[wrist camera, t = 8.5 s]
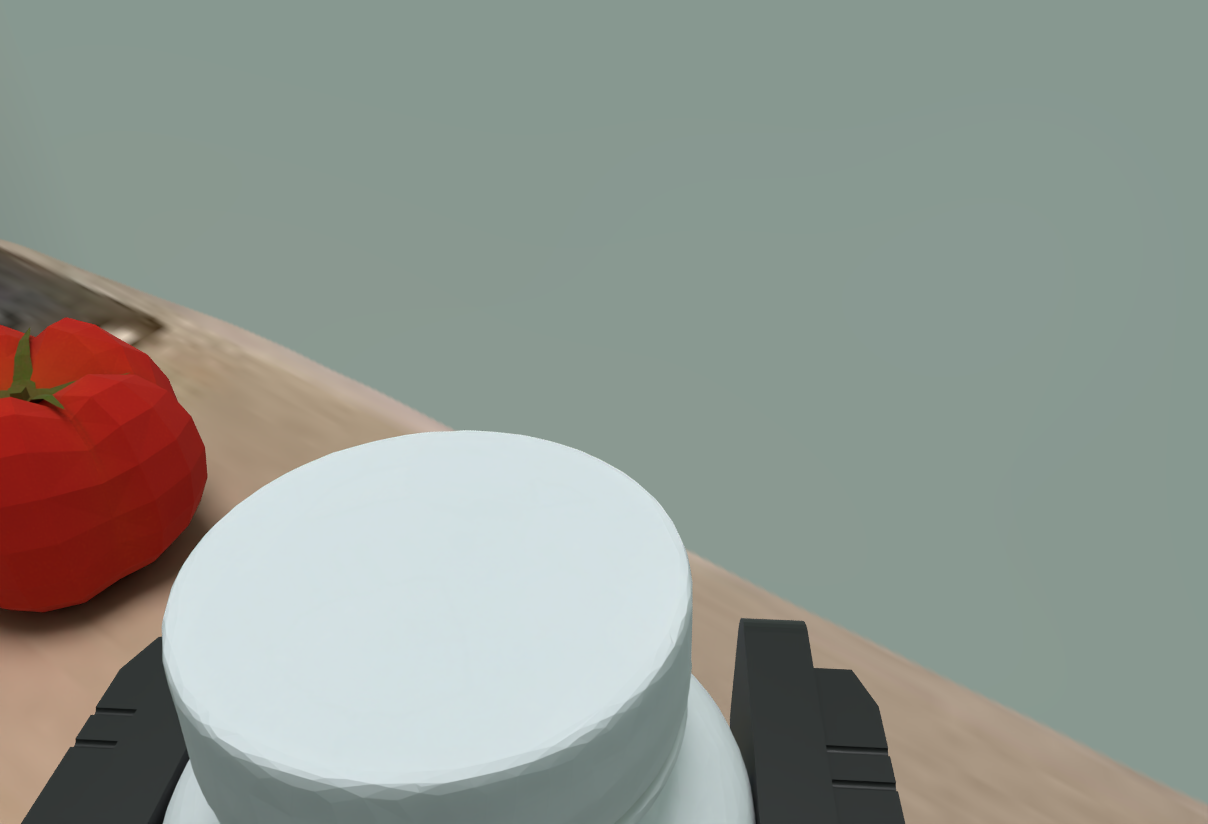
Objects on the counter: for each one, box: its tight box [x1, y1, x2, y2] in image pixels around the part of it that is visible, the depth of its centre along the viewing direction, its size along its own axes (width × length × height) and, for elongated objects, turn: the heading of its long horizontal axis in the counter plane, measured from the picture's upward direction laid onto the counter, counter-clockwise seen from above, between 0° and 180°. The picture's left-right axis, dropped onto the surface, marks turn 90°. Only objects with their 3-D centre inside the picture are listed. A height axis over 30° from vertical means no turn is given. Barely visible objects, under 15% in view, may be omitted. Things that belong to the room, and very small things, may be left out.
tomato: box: [0, 318, 207, 612], centre depth 38 cm, size 11×12×9 cm
